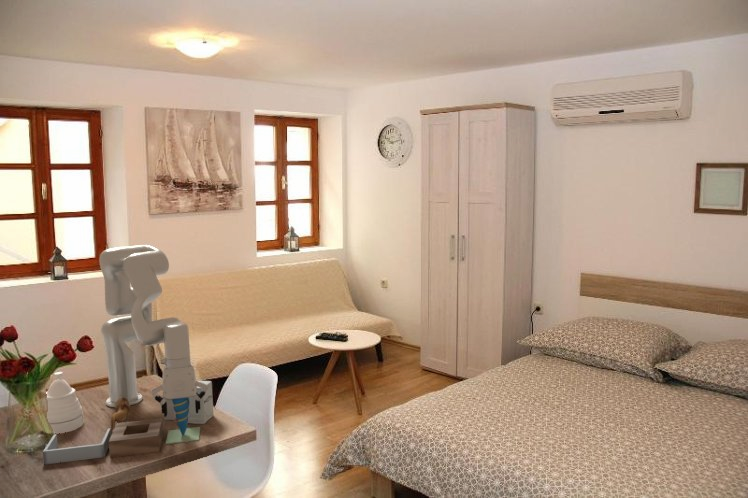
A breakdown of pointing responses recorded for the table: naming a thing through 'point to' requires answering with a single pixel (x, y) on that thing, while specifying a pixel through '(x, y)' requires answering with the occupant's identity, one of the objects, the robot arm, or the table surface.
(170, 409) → the white printed carton
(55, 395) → the honey pot
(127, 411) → the lion figurine
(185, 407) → the ornament
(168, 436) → the mat
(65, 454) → the grey arch frame
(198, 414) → the supplement box
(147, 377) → the table surface
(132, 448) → the hole deck
